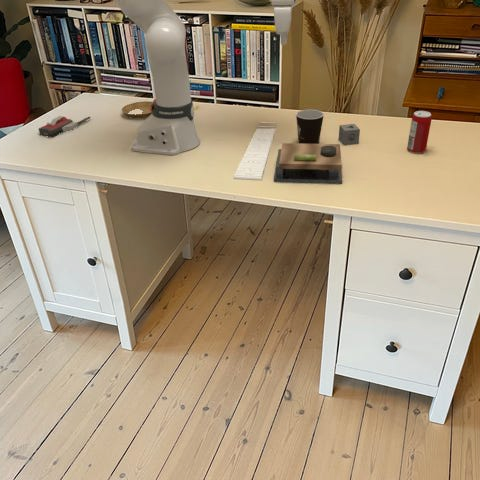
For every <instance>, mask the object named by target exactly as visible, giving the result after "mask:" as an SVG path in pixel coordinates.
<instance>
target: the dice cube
mask: <svg viewBox="0 0 480 480" xmlns="http://www.w3.org/2000/svg"><path fill="white" fill-rule="evenodd" d="M338 126H339V129H338V141H339V142H340V143H341V144H342V146H352V145H359V143H360V142H359V141H360V133H361V128H359V126H357V124H355V123H349V124H348V123H347V124H340V125H338Z"/></svg>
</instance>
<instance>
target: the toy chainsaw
mask: <svg viewBox="0 0 480 480" xmlns="http://www.w3.org/2000/svg"><path fill="white" fill-rule="evenodd" d="M90 119H91V116H87V117H86V118H85V117H84V118H83V119H82V120H79V121H73V120H72V119H70V118H67V117H66V116H62V115H59V116H57V117H55V118H53V119H51V121H50V122H46V124H45V125H43V126H41V127H39V128H38V133H39V136H41V135H42V137H46V136H48V137H47V138H55V137H56V136H58V135H60V134H62V133H61V132H65V133H67V132H66V131H70V130H72V129H74V128H76V127H78V128H79V126H80V125H81V124H83V123H85V122H87V121H88V120H90ZM78 125H79V126H78ZM76 129H77V128H76ZM74 130H75V129H74ZM72 131H73V130H72ZM70 132H71V131H70ZM59 133H60V134H59ZM54 136H55V137H54Z"/></svg>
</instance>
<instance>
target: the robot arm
mask: <svg viewBox="0 0 480 480" xmlns="http://www.w3.org/2000/svg"><path fill="white" fill-rule="evenodd" d="M268 1H269V2H270V3H271V6H273V17H274V18H273V19H274V20H273V21H274V28H275V29H274V30H275V34H276V35H279V36H280V45H281V46H286V45H287V42H288V34H289V32H290V28H291V22H292V10H293V8H294V7H296V3H297V2H298V1H300V0H268ZM113 2H114V3H115V4H116V5H117V7H118V8H119V9H120V10H121V12H122V13H123V14H124V16H126V18H129V20H131V21H132V22H133V23H134V24H135V25H136V26H137V27H138V28H139V29H140V30H141V31H142V32H143V34H144V35H145V37H144V42H145V47H146V48H145V49H146V53H147V60H148V65H149V68H150V73H151V75H152V76H151V77H152V81H153V88H154V89H153V90H154V96H155V97H154V99H153V100H152V101H151V102H152V105H151V107H150V112H152V114H151V115H150V116H149V117H148V118H145V119H144V120H143V121H142V122H141V123H140V124H139V126H138V128H137V134H136V137H135V138H134V139H133V140H132V142H131V145H130V146H131V150H132V152H139V153H148V154H150V153H151V154H157V155H158V154H159V155H167V156H175V155H177V154H180V153H182V152H186V151H189V150H192V149H194V148H197V147H198V146H199V144H200V143H201V140H200V137H199V136H198V132H197V129H196V124H195V121H194V120H195V119H194V117H195V111H194V110H195V108H194V101H193V100H192V96H191V85H190V75H189V70H188V63H187V56H186V55H187V54H186V47H185V46H186V45H185V42H186V37H187V36H186V35H187V31H186V30H187V29H186V26H185V24H184V22H183V21H182V20H181V18H180V17H179V16H178V14H177V13H176V12H175V11H174V10H173V8H172V7H171V6H170V5H169V4H168V3H167V1H166V0H113Z"/></svg>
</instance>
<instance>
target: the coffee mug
mask: <svg viewBox="0 0 480 480" xmlns="http://www.w3.org/2000/svg"><path fill="white" fill-rule="evenodd" d="M324 115H325V113H324V112H323V111H321V110H318V109H302V110H298V111H297V112H296V113H295V118H296V130H297V140H298V144H320V138H321V134H322V133H321V132H322V127H323V121H324Z"/></svg>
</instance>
